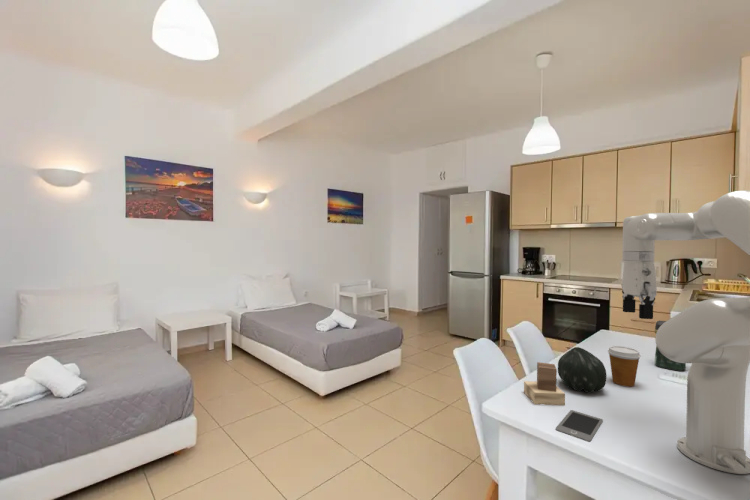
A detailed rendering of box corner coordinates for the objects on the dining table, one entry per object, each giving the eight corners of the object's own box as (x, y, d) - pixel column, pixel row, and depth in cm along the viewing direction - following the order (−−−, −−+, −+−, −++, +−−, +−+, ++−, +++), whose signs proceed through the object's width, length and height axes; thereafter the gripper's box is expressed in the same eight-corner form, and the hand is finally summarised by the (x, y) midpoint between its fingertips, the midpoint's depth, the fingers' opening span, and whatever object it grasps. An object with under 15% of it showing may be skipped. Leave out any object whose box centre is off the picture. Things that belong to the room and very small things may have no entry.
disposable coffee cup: (646, 389, 117) (646, 354, 116) (614, 387, 119) (615, 352, 118) (631, 379, 126) (631, 346, 126) (602, 377, 128) (602, 345, 128)
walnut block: (556, 391, 106) (556, 369, 106) (538, 389, 108) (538, 367, 108) (553, 385, 111) (554, 364, 111) (536, 383, 113) (537, 362, 112)
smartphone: (570, 411, 102) (570, 409, 102) (603, 421, 96) (603, 419, 96) (554, 431, 91) (554, 428, 91) (590, 443, 85) (590, 441, 85)
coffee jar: (686, 367, 138) (687, 322, 138) (685, 373, 132) (686, 325, 132) (655, 362, 145) (656, 318, 145) (653, 366, 139) (653, 321, 139)
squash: (606, 367, 123) (575, 334, 125) (624, 385, 108) (589, 347, 110) (572, 389, 126) (543, 357, 128) (585, 410, 112) (552, 373, 114)
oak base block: (564, 406, 105) (565, 393, 105) (534, 405, 106) (534, 392, 105) (551, 393, 114) (551, 381, 114) (523, 393, 114) (524, 381, 114)
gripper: (670, 259, 92) (669, 322, 93) (637, 257, 109) (636, 310, 109) (638, 258, 94) (637, 320, 94) (610, 256, 111) (610, 309, 111)
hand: (637, 315), depth 102 cm, fingers open, 9 cm apart
